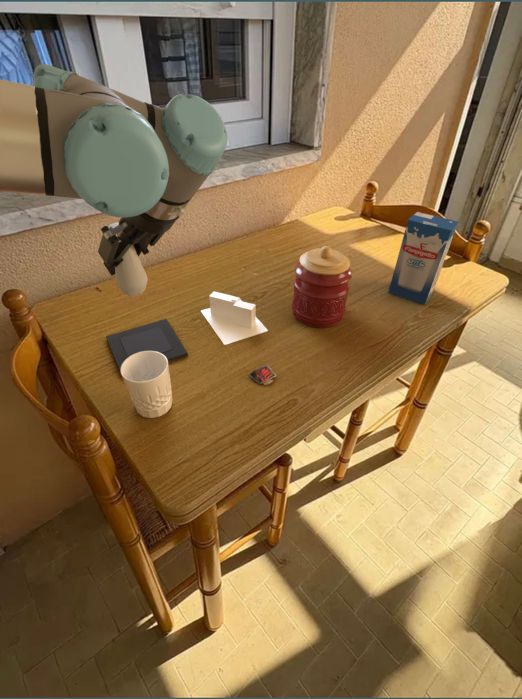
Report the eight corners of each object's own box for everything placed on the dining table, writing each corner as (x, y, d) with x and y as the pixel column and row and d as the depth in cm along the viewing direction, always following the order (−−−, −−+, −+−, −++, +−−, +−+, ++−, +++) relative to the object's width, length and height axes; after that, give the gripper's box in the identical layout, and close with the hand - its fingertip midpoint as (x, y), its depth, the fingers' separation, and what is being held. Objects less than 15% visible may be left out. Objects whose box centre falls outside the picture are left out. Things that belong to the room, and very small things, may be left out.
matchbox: (247, 376, 77) (247, 374, 77) (264, 363, 80) (264, 362, 80) (264, 388, 75) (264, 386, 74) (281, 374, 77) (281, 373, 77)
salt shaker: (143, 279, 76) (129, 215, 68) (154, 292, 73) (141, 227, 64) (114, 288, 74) (96, 223, 65) (124, 301, 70) (106, 235, 62)
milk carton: (387, 292, 102) (407, 219, 89) (396, 282, 106) (416, 211, 93) (425, 305, 97) (451, 230, 84) (432, 294, 101) (459, 221, 88)
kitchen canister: (280, 310, 95) (284, 244, 83) (316, 292, 101) (325, 229, 90) (318, 336, 87) (328, 267, 76) (355, 315, 94) (369, 248, 82)
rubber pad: (122, 377, 76) (121, 374, 76) (106, 338, 86) (105, 335, 85) (188, 355, 82) (187, 352, 81) (166, 321, 91) (166, 318, 90)
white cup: (144, 428, 67) (133, 389, 60) (125, 401, 72) (112, 363, 65) (183, 406, 71) (176, 368, 64) (163, 383, 75) (154, 344, 69)
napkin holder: (199, 310, 94) (197, 291, 90) (240, 299, 98) (239, 279, 95) (224, 345, 84) (223, 325, 81) (269, 330, 89) (269, 310, 85)
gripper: (123, 239, 49) (90, 299, 68) (212, 206, 59) (162, 267, 78) (89, 188, 49) (66, 263, 68) (186, 162, 58) (141, 234, 77)
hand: (117, 265), depth 73 cm, fingers closed on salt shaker, 3 cm apart
